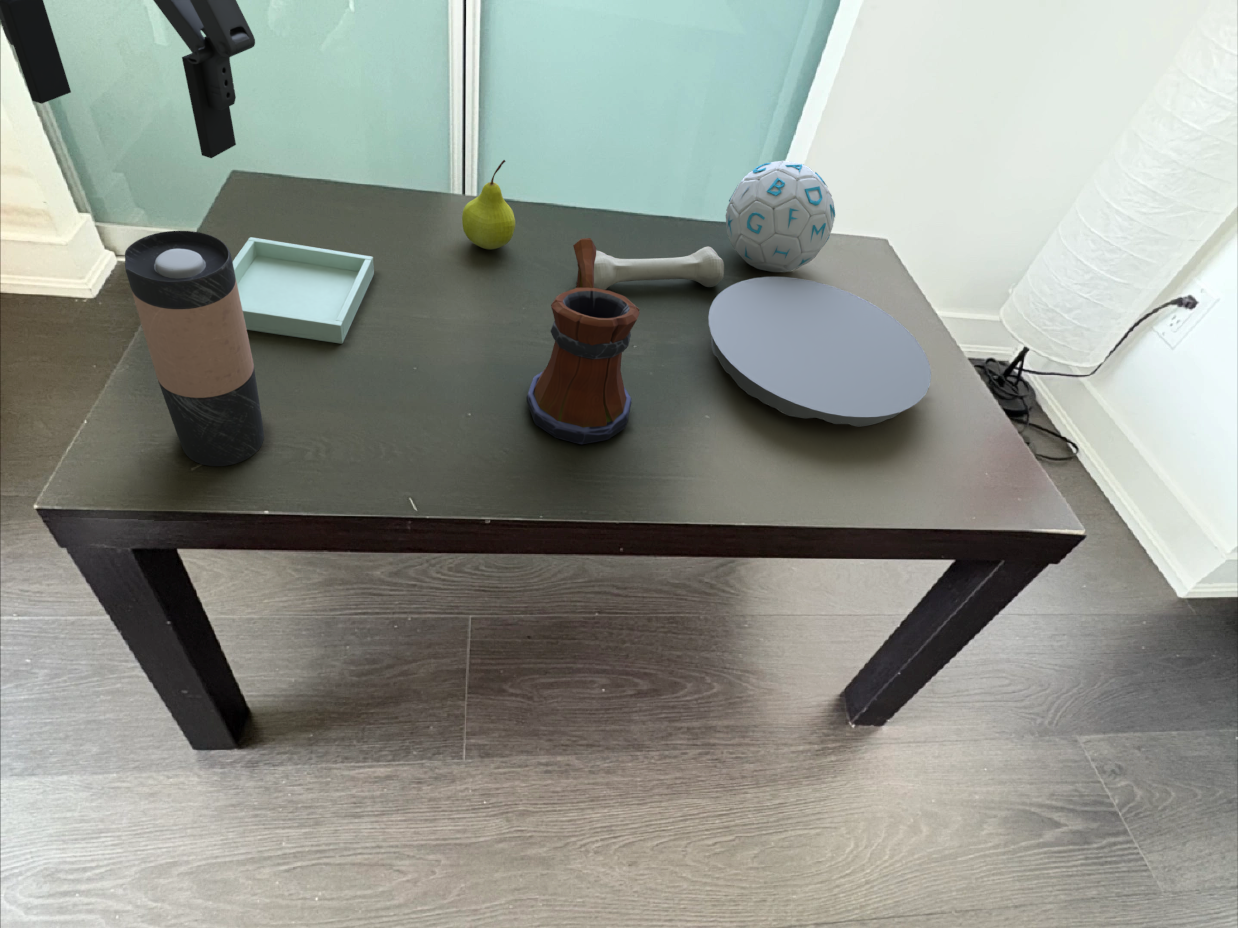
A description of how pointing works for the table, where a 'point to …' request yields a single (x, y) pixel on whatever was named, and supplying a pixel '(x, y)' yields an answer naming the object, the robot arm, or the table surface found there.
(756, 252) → the puzzle ball
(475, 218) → the fruit
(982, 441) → the table surface
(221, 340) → the travel mug
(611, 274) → the dog toy
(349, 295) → the tray
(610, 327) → the mug
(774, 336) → the flat disc
